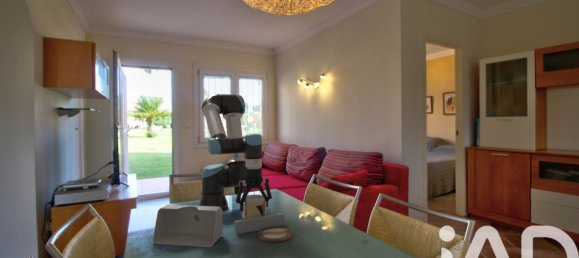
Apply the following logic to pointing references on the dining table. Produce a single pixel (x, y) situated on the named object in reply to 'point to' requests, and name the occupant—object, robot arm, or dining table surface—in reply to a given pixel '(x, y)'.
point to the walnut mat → (274, 234)
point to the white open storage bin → (188, 225)
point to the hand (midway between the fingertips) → (254, 216)
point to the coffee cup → (254, 206)
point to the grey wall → (259, 223)
